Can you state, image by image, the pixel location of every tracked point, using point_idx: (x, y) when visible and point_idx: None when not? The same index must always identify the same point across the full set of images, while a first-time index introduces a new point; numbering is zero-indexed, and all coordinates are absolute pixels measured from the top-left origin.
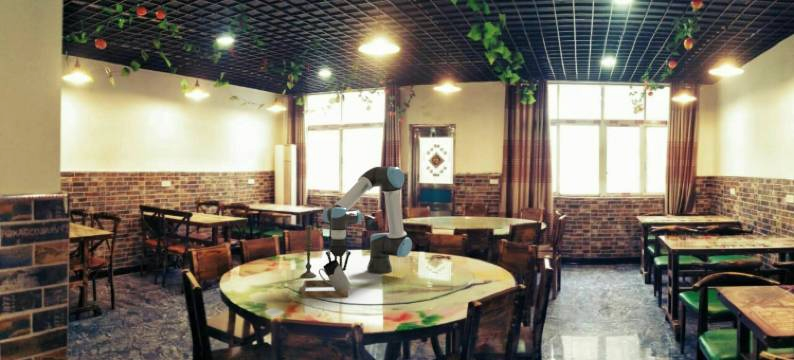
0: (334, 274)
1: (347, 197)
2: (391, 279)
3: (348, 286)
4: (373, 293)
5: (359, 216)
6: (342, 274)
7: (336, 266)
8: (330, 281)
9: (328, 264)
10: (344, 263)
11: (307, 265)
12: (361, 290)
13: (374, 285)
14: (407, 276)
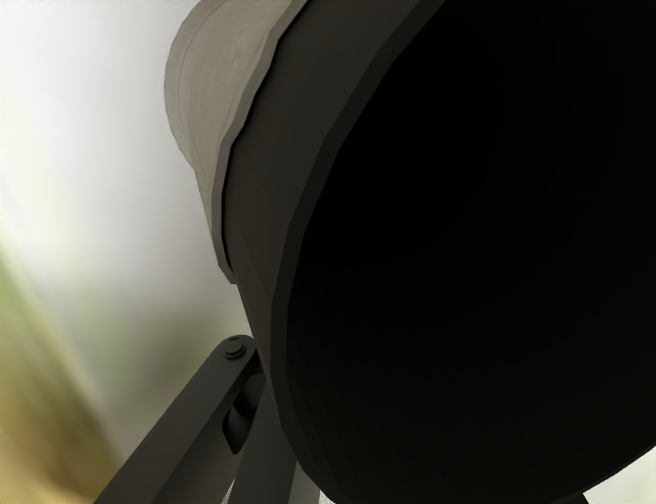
0: None
1: None
2: (73, 466)
3: (187, 44)
4: (6, 121)
5: None
6: (202, 64)
7: (298, 35)
8: (474, 76)
9: (603, 410)
10: (206, 473)
11: None
12: (156, 227)
13: (114, 360)
14: (21, 501)
